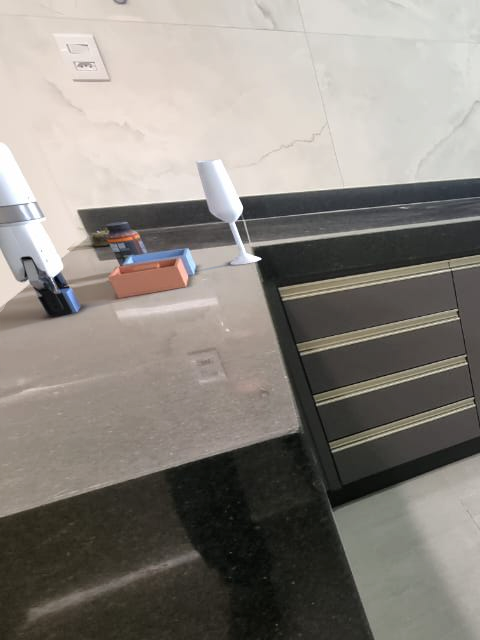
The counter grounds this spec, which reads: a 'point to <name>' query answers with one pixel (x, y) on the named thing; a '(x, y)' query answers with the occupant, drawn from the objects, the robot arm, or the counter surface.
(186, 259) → the blue bin
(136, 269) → the terracotta block
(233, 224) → the champagne flute
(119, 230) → the supplement bottle
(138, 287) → the terracotta bin
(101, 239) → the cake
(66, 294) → the slate-blue block
